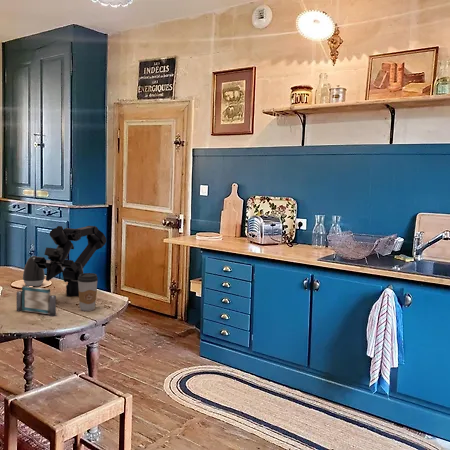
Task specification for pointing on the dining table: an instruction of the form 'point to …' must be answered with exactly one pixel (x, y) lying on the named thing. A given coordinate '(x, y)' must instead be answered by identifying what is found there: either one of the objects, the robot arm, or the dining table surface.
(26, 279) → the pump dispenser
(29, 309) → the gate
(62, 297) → the dining table surface
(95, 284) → the coffee cup
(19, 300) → the gate posts
